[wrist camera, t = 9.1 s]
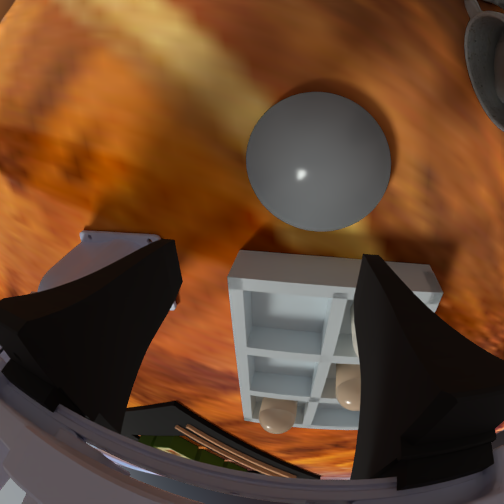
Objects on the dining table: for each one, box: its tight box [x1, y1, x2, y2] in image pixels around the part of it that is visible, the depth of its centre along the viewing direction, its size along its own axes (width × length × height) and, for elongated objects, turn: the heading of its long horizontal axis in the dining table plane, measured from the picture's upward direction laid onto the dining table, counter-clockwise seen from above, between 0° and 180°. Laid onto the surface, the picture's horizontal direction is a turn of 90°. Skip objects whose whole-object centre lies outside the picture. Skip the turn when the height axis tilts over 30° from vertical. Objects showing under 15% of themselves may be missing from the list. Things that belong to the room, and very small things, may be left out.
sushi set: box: [121, 401, 320, 480], centre depth 54 cm, size 45×45×4 cm
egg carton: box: [227, 250, 443, 430], centre depth 25 cm, size 15×22×4 cm
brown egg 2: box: [336, 363, 361, 411], centre depth 22 cm, size 4×4×5 cm
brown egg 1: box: [259, 397, 298, 434], centre depth 27 cm, size 4×4×5 cm
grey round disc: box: [246, 92, 391, 231], centre depth 17 cm, size 9×9×1 cm
